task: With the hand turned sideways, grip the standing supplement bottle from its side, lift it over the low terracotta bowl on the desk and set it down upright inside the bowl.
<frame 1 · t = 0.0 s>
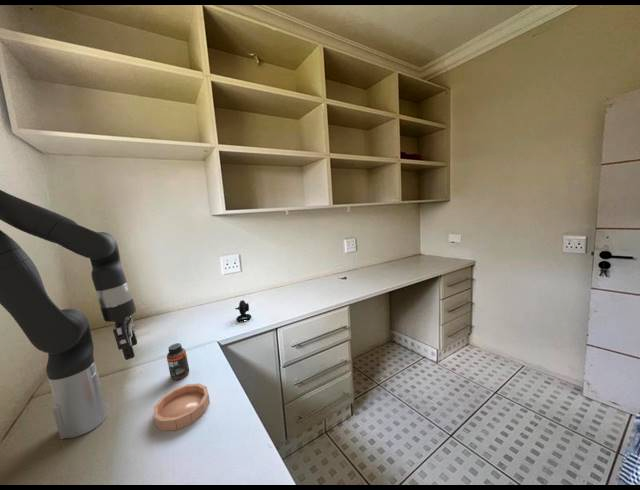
hand: (131, 351, 77), 17 cm above the worktop, tool pointing down, fingers open, 8 cm apart
supplement bottle: (180, 375, 92), on the worktop
webcam: (244, 319, 134), on the worktop
bowl: (183, 409, 75), on the worktop
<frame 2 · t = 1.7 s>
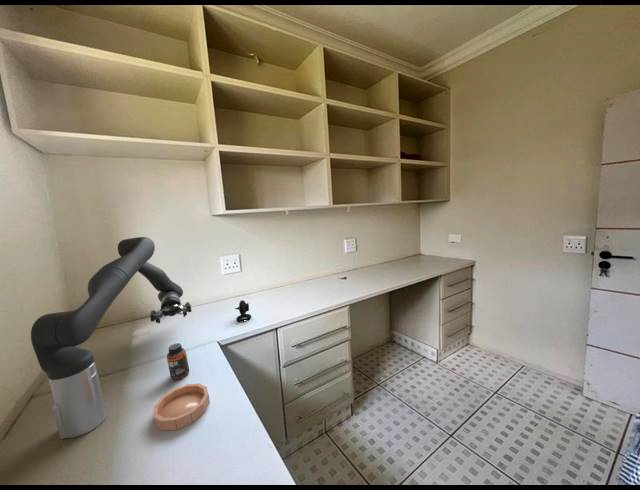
hand: (171, 317, 98), 18 cm above the worktop, tool horizontal, fingers open, 8 cm apart
nothing on the worktop moved.
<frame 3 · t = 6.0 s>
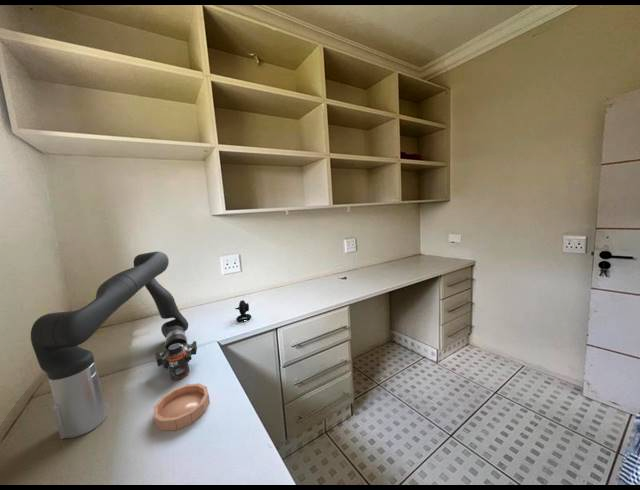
hand: (177, 363, 88), 6 cm above the worktop, tool horizontal, fingers closed on supplement bottle, 6 cm apart
supplement bottle: (180, 375, 92), on the worktop, touching gripper
everything else where it was.
when the fingers open (8 cm above the worktop, at t = 11.1 s): supplement bottle drops 1 cm, resting on bowl.
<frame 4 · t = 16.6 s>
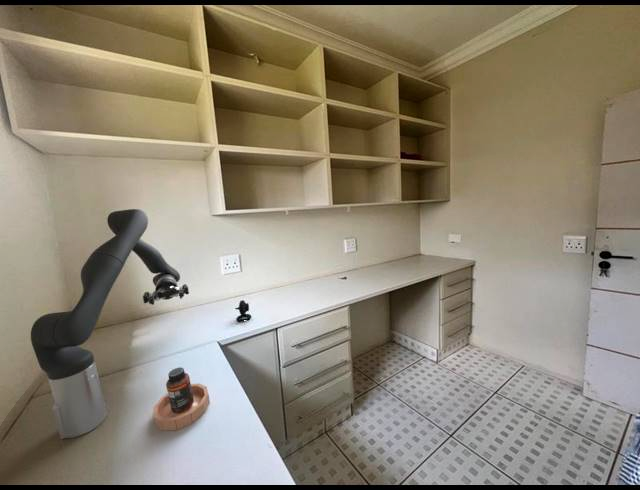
hand: (166, 298, 89), 28 cm above the worktop, tool horizontal, fingers open, 8 cm apart
supplement bottle: (183, 406, 75), point 1 cm above the worktop, touching bowl
everything else where it was.
at the end: supplement bottle 0.2 cm off-centre on the bowl, point 0.8 cm above the bowl's base; supplement bottle tilted 0°; the gripper is holding nothing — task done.
